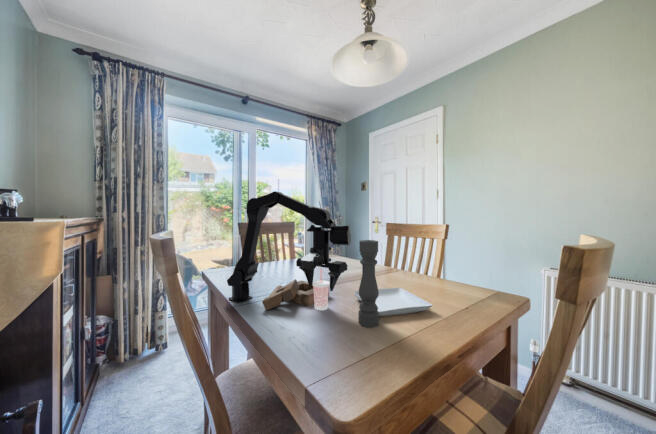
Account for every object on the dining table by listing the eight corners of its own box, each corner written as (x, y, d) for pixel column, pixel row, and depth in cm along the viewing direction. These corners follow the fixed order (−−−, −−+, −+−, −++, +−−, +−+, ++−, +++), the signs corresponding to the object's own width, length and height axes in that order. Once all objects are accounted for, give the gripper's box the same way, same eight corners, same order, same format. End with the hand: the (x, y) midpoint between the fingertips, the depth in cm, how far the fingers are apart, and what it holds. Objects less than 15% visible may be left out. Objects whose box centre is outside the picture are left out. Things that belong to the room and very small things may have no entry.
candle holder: (380, 320, 77) (380, 240, 76) (377, 328, 71) (377, 242, 71) (360, 317, 79) (360, 239, 78) (356, 325, 73) (356, 241, 73)
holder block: (278, 298, 97) (278, 288, 97) (301, 289, 107) (301, 280, 107) (308, 306, 88) (308, 295, 88) (329, 296, 99) (329, 286, 99)
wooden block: (290, 288, 84) (297, 276, 102) (261, 301, 84) (273, 287, 102) (294, 298, 84) (301, 284, 102) (265, 311, 84) (277, 295, 102)
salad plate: (351, 299, 97) (351, 290, 97) (399, 294, 102) (400, 286, 102) (375, 322, 76) (375, 311, 76) (434, 315, 82) (434, 304, 81)
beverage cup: (328, 304, 90) (328, 266, 90) (330, 310, 84) (330, 270, 84) (311, 305, 89) (311, 266, 89) (312, 311, 83) (312, 270, 83)
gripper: (285, 244, 85) (285, 289, 86) (329, 249, 75) (329, 300, 75) (306, 241, 94) (306, 282, 95) (348, 245, 84) (348, 291, 84)
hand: (320, 288), depth 87 cm, fingers open, 9 cm apart
